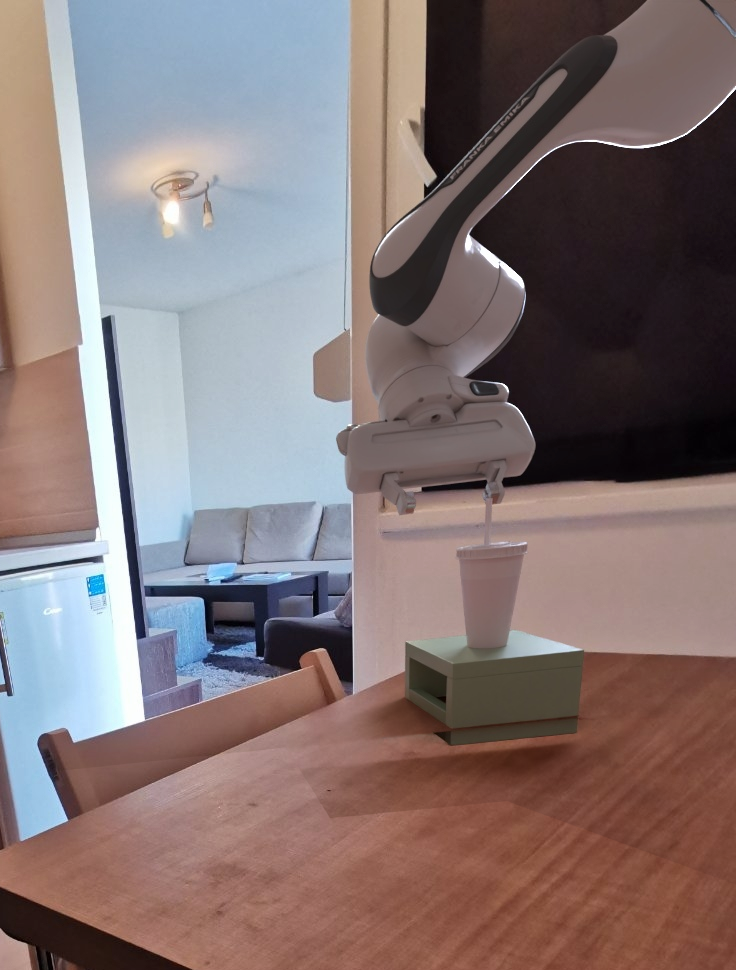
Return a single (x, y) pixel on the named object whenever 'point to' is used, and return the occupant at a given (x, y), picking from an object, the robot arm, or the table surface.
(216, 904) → the table surface
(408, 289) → the robot arm
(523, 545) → the smoothie
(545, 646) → the shelf
